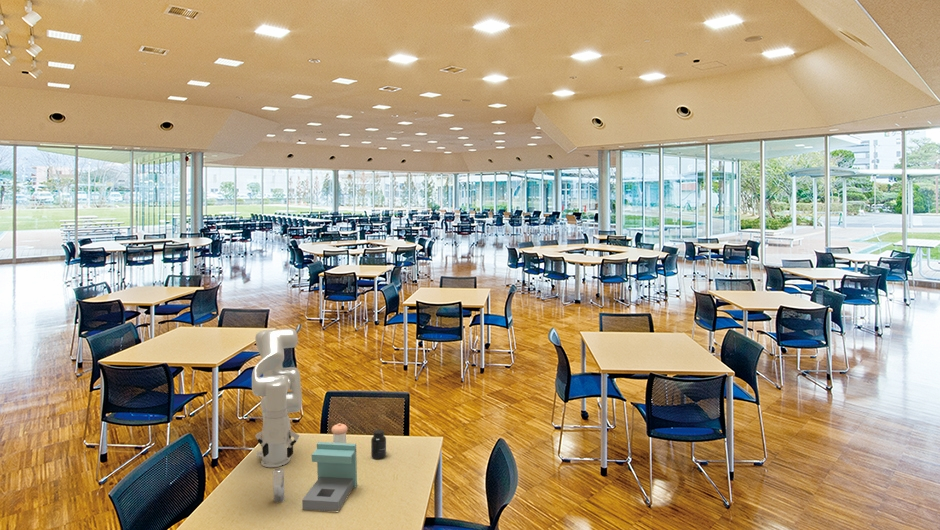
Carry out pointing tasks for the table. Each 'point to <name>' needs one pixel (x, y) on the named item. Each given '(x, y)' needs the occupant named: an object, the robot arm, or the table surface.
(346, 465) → the socket stand
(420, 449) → the table surface
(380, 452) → the supplement bottle
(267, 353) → the robot arm
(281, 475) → the peg
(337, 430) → the salt shaker
